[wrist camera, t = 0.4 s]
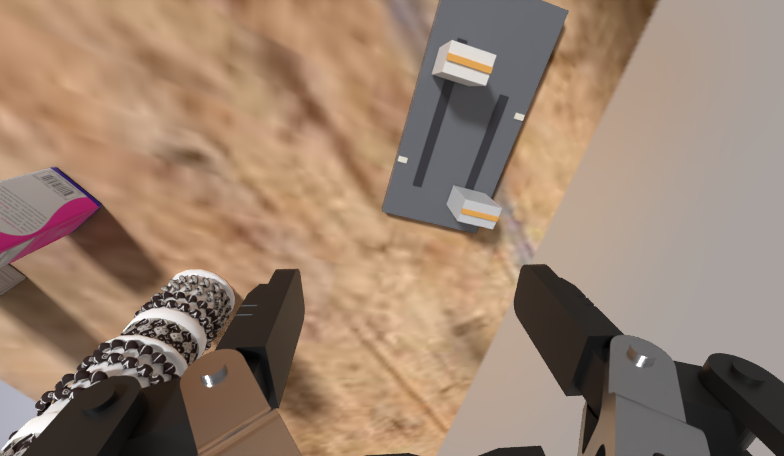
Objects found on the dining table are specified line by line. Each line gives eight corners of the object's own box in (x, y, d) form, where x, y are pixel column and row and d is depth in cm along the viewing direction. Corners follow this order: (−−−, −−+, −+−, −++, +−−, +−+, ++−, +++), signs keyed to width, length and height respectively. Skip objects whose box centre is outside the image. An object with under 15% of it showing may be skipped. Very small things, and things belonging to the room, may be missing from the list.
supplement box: (23, 196, 35) (-126, 242, 24) (55, 165, 34) (-86, 199, 23) (73, 234, 37) (-45, 291, 26) (105, 205, 36) (-5, 253, 25)
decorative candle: (222, 333, 44) (63, 594, 21) (154, 304, 41) (-109, 567, 19) (250, 287, 41) (103, 531, 19) (180, 254, 39) (-92, 489, 16)
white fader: (439, 47, 30) (452, 39, 25) (477, 60, 30) (497, 54, 26) (431, 74, 31) (442, 71, 26) (468, 86, 31) (486, 85, 27)
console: (447, -29, 29) (451, -35, 27) (560, 14, 31) (569, 10, 29) (381, 207, 38) (382, 212, 36) (472, 228, 40) (476, 234, 38)
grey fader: (453, 185, 35) (466, 199, 31) (485, 193, 36) (502, 209, 31) (446, 204, 36) (457, 221, 32) (477, 212, 37) (493, 230, 32)
